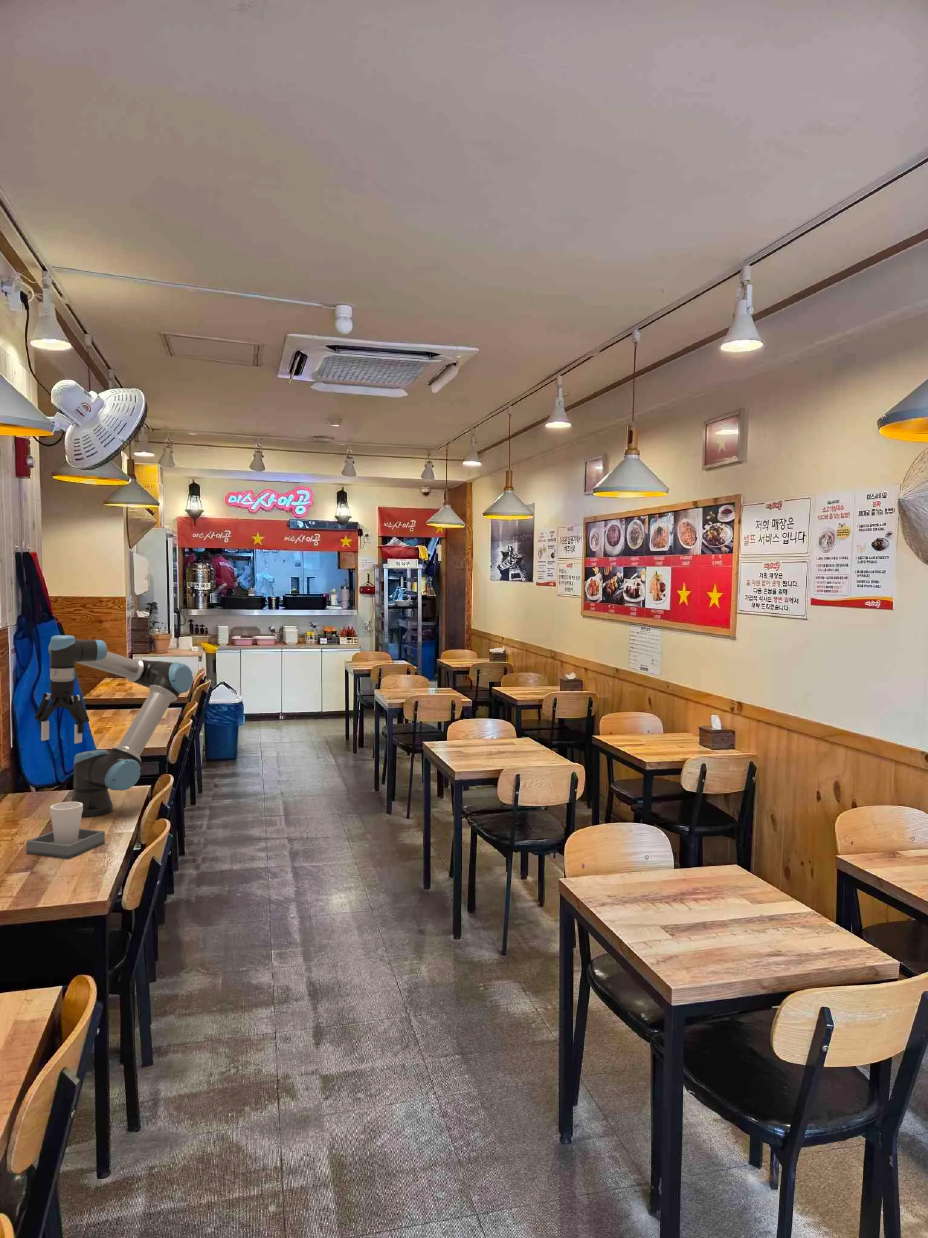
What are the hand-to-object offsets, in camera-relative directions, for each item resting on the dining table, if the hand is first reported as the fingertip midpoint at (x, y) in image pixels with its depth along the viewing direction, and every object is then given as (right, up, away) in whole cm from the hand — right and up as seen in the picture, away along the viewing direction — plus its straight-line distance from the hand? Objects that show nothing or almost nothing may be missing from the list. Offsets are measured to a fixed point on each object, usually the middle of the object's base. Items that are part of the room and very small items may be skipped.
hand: (61, 741), depth 263 cm
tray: (+10, -32, -15) cm, 37 cm away
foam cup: (+9, -32, -15) cm, 36 cm away
